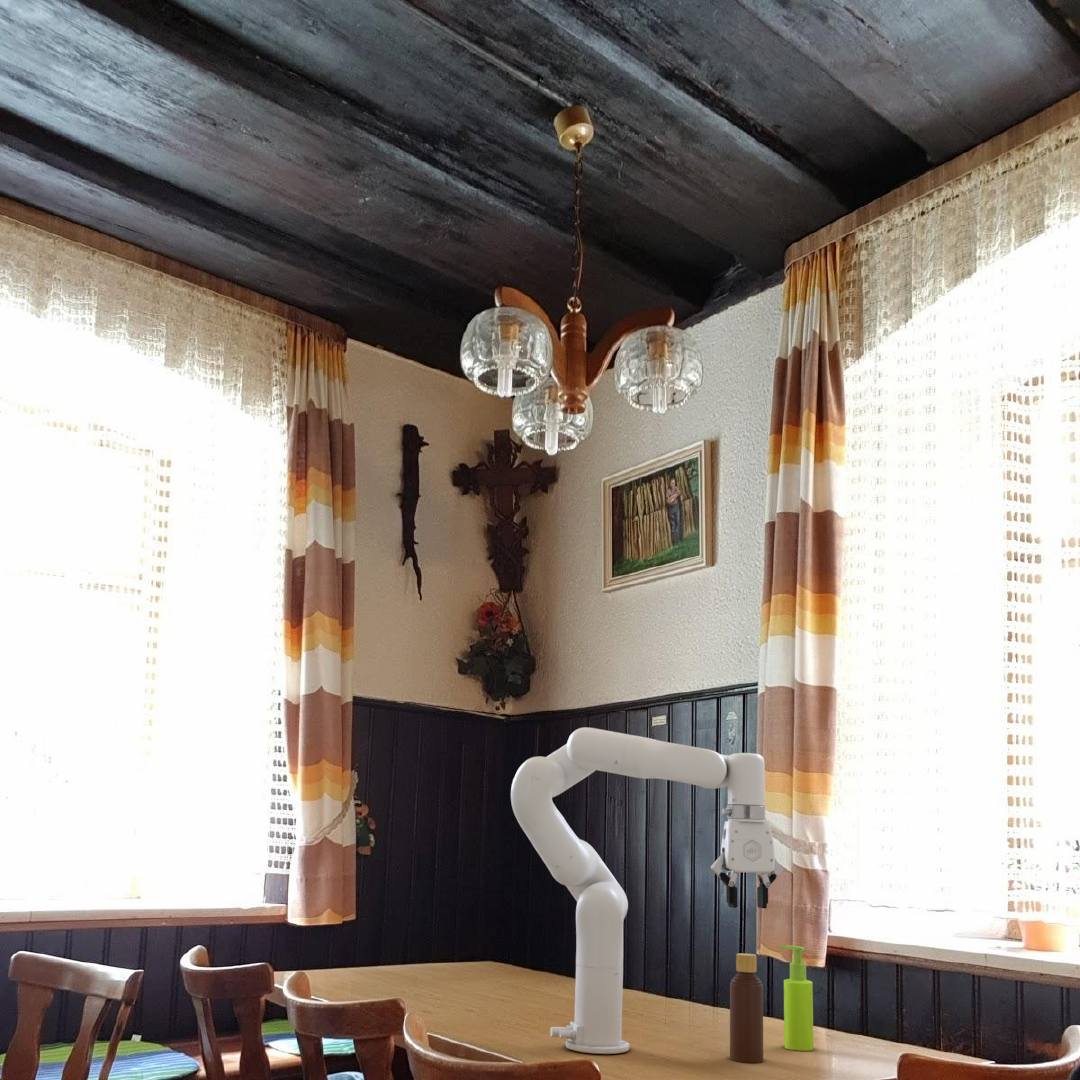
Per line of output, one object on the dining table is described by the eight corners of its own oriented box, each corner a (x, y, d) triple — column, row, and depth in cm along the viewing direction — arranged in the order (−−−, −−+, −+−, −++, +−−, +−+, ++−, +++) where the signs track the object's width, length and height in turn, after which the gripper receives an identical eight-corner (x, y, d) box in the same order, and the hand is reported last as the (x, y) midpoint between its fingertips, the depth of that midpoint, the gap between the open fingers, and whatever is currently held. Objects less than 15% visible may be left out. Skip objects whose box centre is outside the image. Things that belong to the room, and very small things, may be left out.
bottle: (737, 1063, 225) (737, 958, 229) (724, 1056, 231) (725, 954, 235) (768, 1062, 226) (768, 958, 231) (755, 1056, 232) (755, 955, 237)
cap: (740, 972, 230) (740, 955, 231) (733, 969, 234) (733, 953, 234) (759, 972, 231) (759, 955, 232) (751, 970, 235) (751, 953, 235)
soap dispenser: (788, 1043, 248) (787, 943, 252) (818, 1048, 243) (816, 946, 248) (774, 1047, 243) (773, 945, 248) (805, 1052, 239) (803, 948, 244)
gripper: (713, 813, 234) (713, 908, 230) (793, 816, 238) (795, 909, 233) (700, 813, 241) (700, 905, 237) (778, 816, 245) (779, 907, 240)
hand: (747, 906), depth 235 cm, fingers open, 5 cm apart
